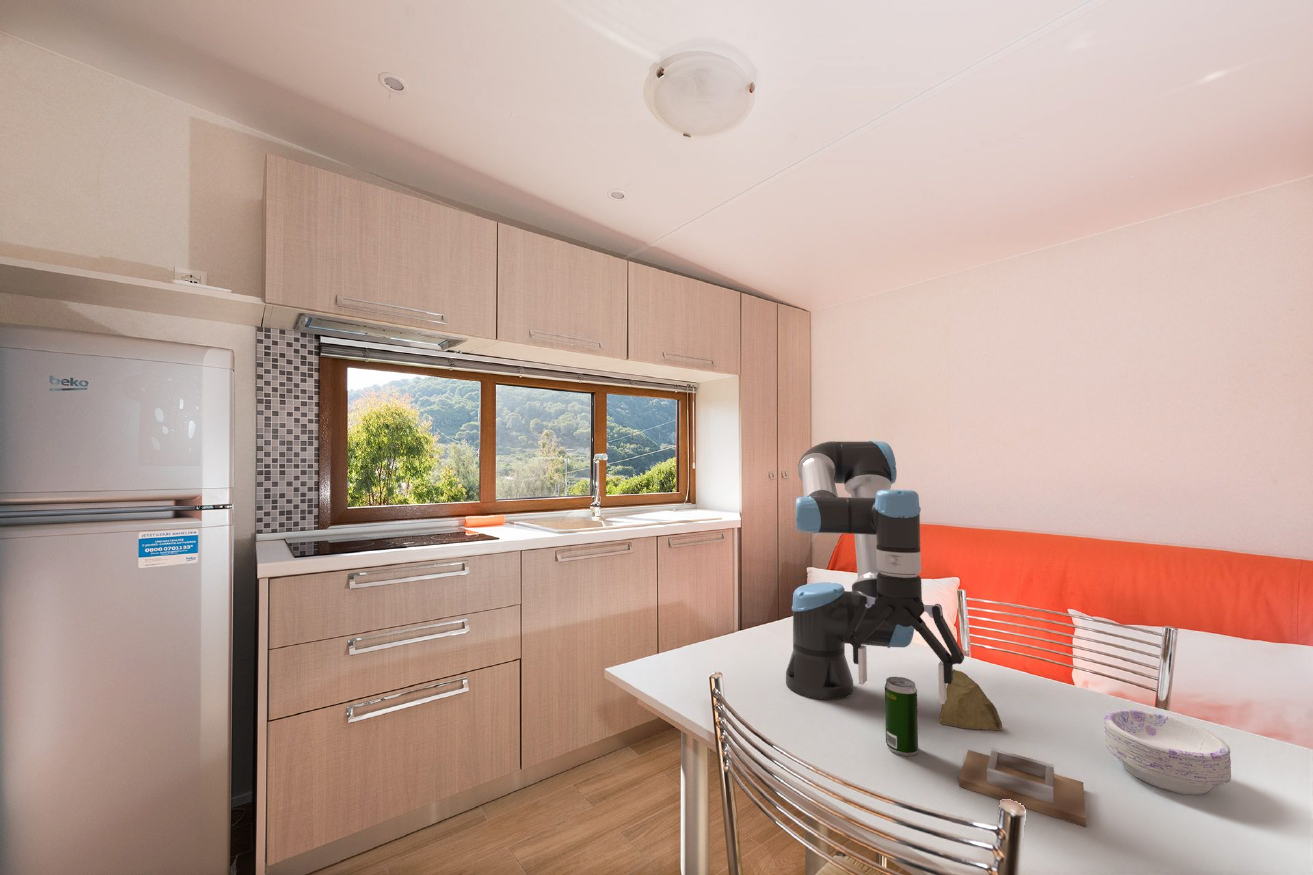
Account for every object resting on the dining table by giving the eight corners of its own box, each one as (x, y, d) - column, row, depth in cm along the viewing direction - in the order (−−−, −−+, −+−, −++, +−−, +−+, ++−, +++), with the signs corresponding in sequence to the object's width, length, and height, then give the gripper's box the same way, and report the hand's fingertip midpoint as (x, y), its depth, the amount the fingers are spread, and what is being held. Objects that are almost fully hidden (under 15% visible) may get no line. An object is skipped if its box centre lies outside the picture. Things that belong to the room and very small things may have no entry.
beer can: (907, 760, 94) (906, 690, 94) (879, 746, 98) (878, 680, 99) (924, 751, 96) (923, 683, 97) (896, 738, 101) (895, 673, 102)
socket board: (959, 786, 86) (958, 765, 86) (968, 756, 95) (967, 737, 95) (1086, 826, 76) (1085, 803, 77) (1083, 789, 85) (1082, 769, 85)
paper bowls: (1203, 817, 79) (1201, 762, 79) (1086, 764, 92) (1084, 717, 93) (1252, 792, 85) (1249, 741, 85) (1135, 746, 99) (1133, 702, 99)
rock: (1012, 713, 107) (959, 689, 114) (1008, 686, 103) (953, 664, 110) (993, 759, 101) (938, 732, 109) (987, 734, 98) (931, 707, 105)
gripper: (825, 568, 103) (826, 681, 102) (973, 585, 88) (978, 717, 87) (837, 563, 109) (839, 669, 108) (979, 578, 94) (983, 702, 93)
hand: (901, 691), depth 97 cm, fingers open, 13 cm apart
